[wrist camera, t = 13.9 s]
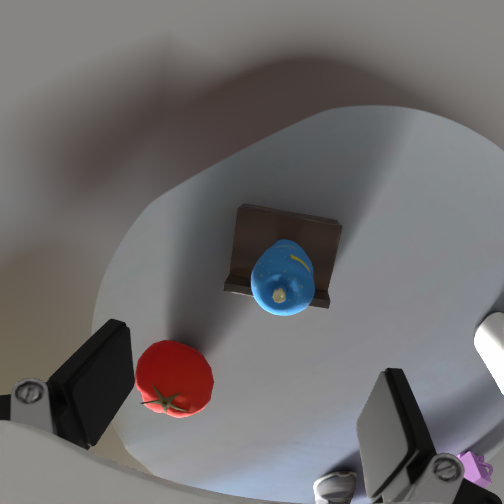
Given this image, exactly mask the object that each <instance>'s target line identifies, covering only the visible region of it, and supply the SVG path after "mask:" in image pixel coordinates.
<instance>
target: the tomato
mask: <svg viewBox="0 0 504 504" xmlns="http://www.w3.org/2000/svg"><path fill="white" fill-rule="evenodd" d="M135 382H136V386H137V389H138V390H139V391H140V392H141V396H142V398H143V400H144V402H143V403H141V404H145V405H146V406H147V407H148V408H150V409H152V410H153V411H155V412H165V414H166V415H167V414H169V415H171V416H173V417H187V416H190V415H192V414H195V413H198V412H200V411H202V409H203V408H204V407H205V406H206V404H207V403H208V402H209V401H210V399H211V393H212V389H213V384H214V380H213V375H212V370H211V367H210V366H209V364H208V363H207V361H206V359H205V358H204V356H203V355H202V354H201V353H199V352H198V351H197V350H196V349H194V348H192V347H190V346H188V345H185V344H182V343H179V342H176V341H170V340H163V341H160V342H157V343H153V344H152V345H151V346H150V347H149V348H148V349H147V350H146V351H145V352H144V353H143V354H142V356H141V357H140V359H139V360H138V364H137V368H136V374H135Z"/></svg>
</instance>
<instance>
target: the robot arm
mask: <svg viewBox="0 0 504 504" xmlns="http://www.w3.org/2000/svg"><path fill="white" fill-rule="evenodd" d="M134 383H135V378H134V369H133V360H132V350H131V338H130V329H129V327H127V326H126V323H125V322H122V321H118V320H115V319H110V320H108V321H107V322H106V323H105V324H104V325H103V326H102V327H101V328H100V329H99V330H98V331H97V332H96V333H95V334H94V335H93V336H92V337H90V338H89V339H88V341H86V342H85V343H84V344H83V345H82V346H81V347H80V348H79V349H78V350H77V351H76V352H75V353H74V354H73V355H72V356H71V357H70V358H69V359H68V360H67V361H66V362H65V363H64V364H63V365H62V366H61V367H60V368H59V369H58V370H57V371H56V372H55V373H54V374H53V375H52V376H51V377H50V378H49V380H48V381H47V382H46V383H45V382H43V381H42V380H40V379H37V378H25V379H22V380H20V381H18V382H17V383H16V384H15V385H14V386H13V388H12V391H11V394H9V395H0V504H301V503H287V502H276V501H267V500H259V499H252V498H245V497H239V496H233V495H228V494H222V493H217V492H213V491H208V490H204V489H199V488H195V487H191V486H187V485H183V484H180V483H176V482H173V481H169V480H166V479H162V478H159V477H156V476H153V475H150V474H147V473H144V472H141V471H138V470H135V469H133V468H130V467H127V466H124V465H122V464H119V463H117V462H114V461H112V460H109V459H107V458H104V457H102V456H100V455H97V454H95V453H93V452H90V451H88V449H89V448H90V446H95V445H96V444H97V442H98V441H99V439H100V437H101V436H102V434H103V433H104V431H105V430H106V428H107V427H108V425H109V424H110V422H111V421H112V419H113V418H114V416H115V415H116V413H117V411H118V410H119V408H120V407H121V405H122V404H123V402H124V401H125V399H126V398H127V396H128V395H129V393H130V392H131V390H132V389H133V387H134ZM356 430H357V436H358V441H359V448H360V454H361V460H362V467H363V474H364V481H365V488H366V495H367V497H368V498H371V504H502V501H501V499H500V498H499V497H498V496H497V495H495V494H494V493H492V492H490V491H488V490H486V489H484V488H482V487H480V486H478V485H477V484H475V483H473V482H471V481H469V480H467V479H465V478H464V473H465V469H464V465H463V463H462V462H461V460H460V459H459V458H458V457H456V456H455V455H452V454H449V453H440V454H437V453H436V450H435V447H434V445H433V442H432V439H431V437H430V434H429V431H428V429H427V426H426V424H425V421H424V419H423V416H422V414H421V411H420V409H419V406H418V404H417V402H416V400H415V397H414V395H413V392H412V390H411V388H410V386H409V383H408V381H407V379H406V376H405V374H404V372H403V370H402V369H398V368H387V369H386V370H385V371H382V372H381V373H380V375H379V377H378V379H377V381H376V383H375V386H374V388H373V390H372V392H371V394H370V396H369V398H368V400H367V402H366V404H365V406H364V408H363V410H362V412H361V414H360V416H359V418H358V420H357V424H356Z"/></svg>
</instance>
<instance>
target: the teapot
mask: <svg viewBox="0 0 504 504" xmlns="http://www.w3.org/2000/svg"><path fill="white" fill-rule="evenodd" d="M457 457H458V458H459V459H460V460H461V462H462V463H463V465H464V469H465V473H464V478H465V479H467V480H469V481H471V482H473V483H475V484H477V485H478V486H480V487H482V488H485V487H486V486H488V485H489V484H490V483H492V482H491V479H490V476H491V474H492V472H493V467H492V466H491V465H490V464H487V463H483V461H484V456H482V455H481V456H476V455H475V454H473V453H472V452H471V451H469V452H467V453H466V454H465V452H462V453H460V454H459V455H458V456H457ZM481 458H482V459H481ZM485 467H488V468H489V469H490V470H489V473H488V472H487V470H486V468H485Z"/></svg>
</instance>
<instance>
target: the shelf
mask: <svg viewBox="0 0 504 504" xmlns="http://www.w3.org/2000/svg"><path fill="white" fill-rule="evenodd" d="M341 229H342V225H341V224H340V223H339V222H338V221H337V220H334V219H328V218H323V217H318V216H312V215H307V214H301V213H295V212H290V211H284V210H278V209H272V208H266V207H260V206H254V205H247V204H243V205H242V206H240V207H239V208H238V213H237V221H236V228H235V235H234V243H233V250H232V258H231V266H230V274H229V276H228V277H227V279H226V281H225V283H224V291H228V292H233V293H239V294H244V295H250V296H254V295H253V293H252V289H251V276H252V271H253V268H254V266H255V265H256V263H257V261H258V260H259V259H260V257H261V256H262V255H263V254H264V252H265V251H266V250H267V249H268V248H270V247H271V246H273V245H274V244H275V243H276V242H277V241H279V240H281V239H287V240H291V241H294V242H295V243H297V244H298V245H299V246H300V247H301V248H302V249H303V250H304V251H305V253H306V255H307V256H308V258H309V259H310V261H311V263H312V266H313V280H314V284H315V294H314V297H313V299H312V301H311V303H310V304H309V305H308V306H314V307H321V308H327V309H328V308H329V305H330V298H329V294H328V287H329V283H330V279H331V275H332V270H333V266H334V262H335V257H336V253H337V248H338V244H339V239H340V234H341Z"/></svg>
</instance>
